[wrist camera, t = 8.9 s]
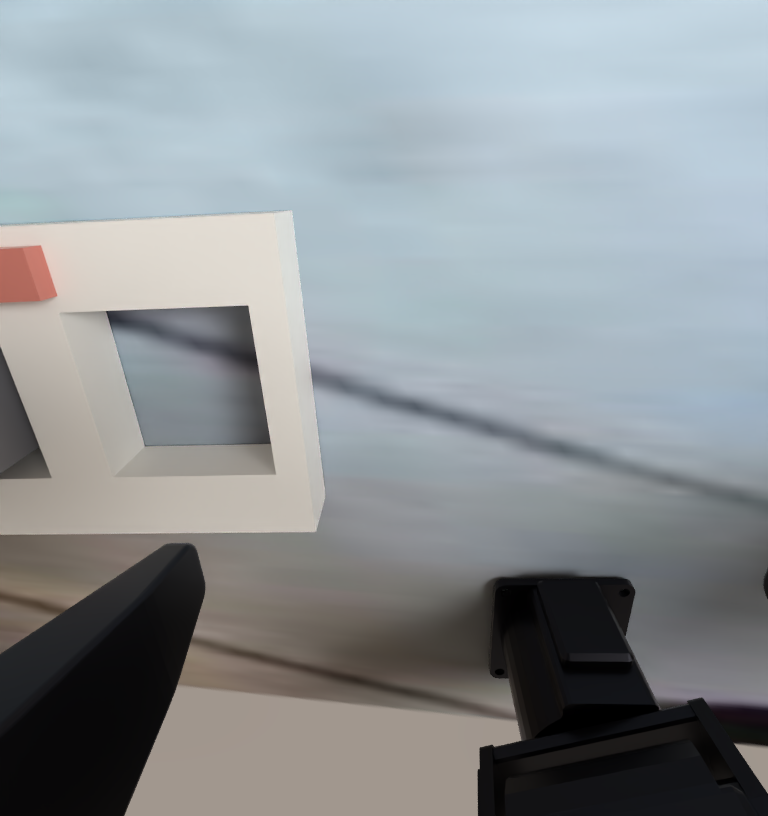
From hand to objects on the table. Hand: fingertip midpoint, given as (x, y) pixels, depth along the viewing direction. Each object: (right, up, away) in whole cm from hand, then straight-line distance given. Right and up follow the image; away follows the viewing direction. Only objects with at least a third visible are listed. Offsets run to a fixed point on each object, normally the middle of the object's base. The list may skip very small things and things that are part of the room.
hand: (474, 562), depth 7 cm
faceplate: (-13, +4, +12) cm, 18 cm away
